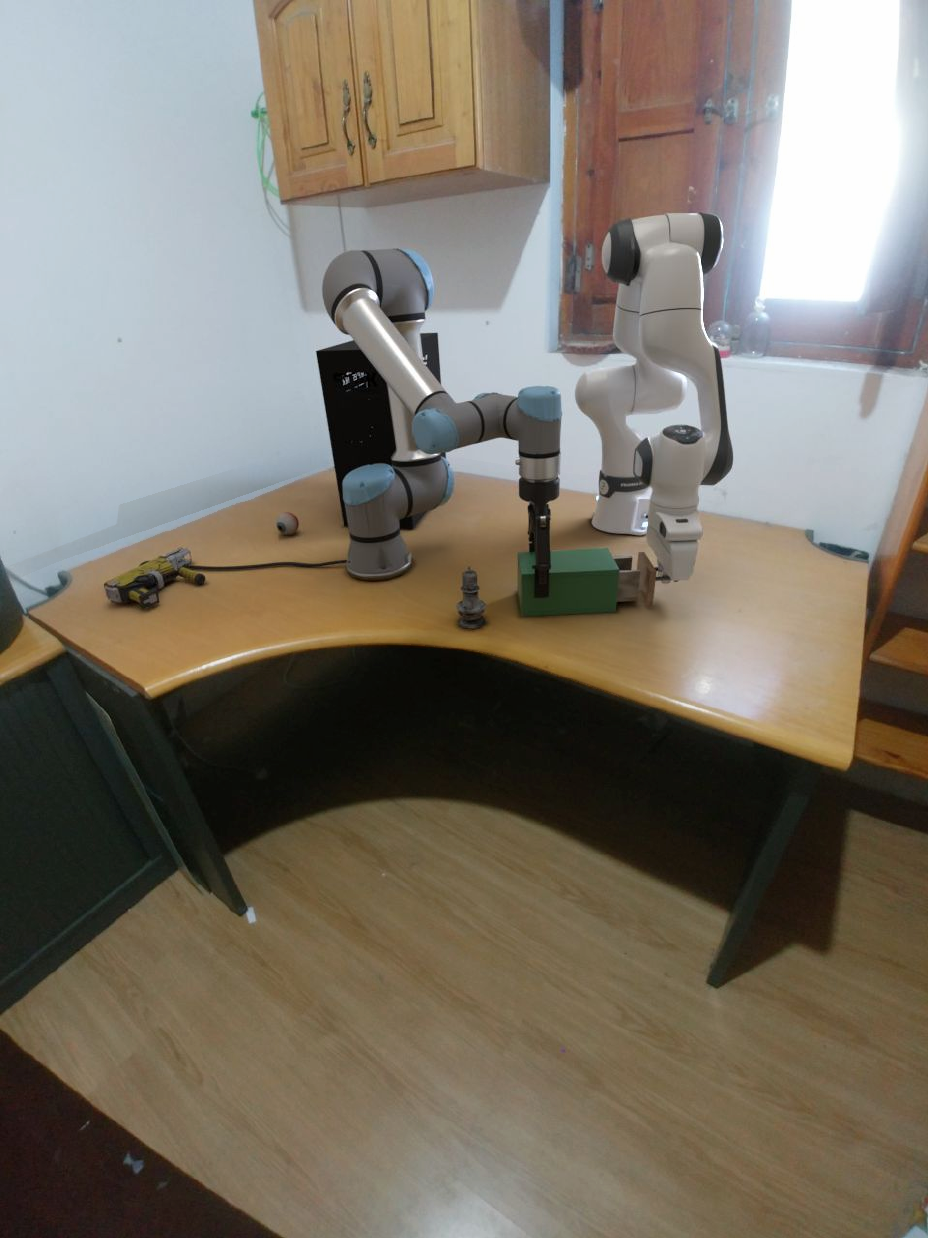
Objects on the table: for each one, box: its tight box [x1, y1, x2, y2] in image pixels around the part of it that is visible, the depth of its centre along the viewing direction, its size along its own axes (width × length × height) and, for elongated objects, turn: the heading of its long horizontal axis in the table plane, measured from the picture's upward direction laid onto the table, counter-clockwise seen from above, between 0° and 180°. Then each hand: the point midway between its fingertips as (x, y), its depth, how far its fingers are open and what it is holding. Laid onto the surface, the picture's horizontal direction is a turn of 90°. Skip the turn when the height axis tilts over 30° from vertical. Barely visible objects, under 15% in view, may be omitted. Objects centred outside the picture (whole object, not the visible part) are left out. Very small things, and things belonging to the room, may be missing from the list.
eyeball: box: [275, 511, 300, 536], centre depth 163 cm, size 6×6×6 cm
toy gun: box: [103, 546, 206, 610], centre depth 139 cm, size 5×24×15 cm
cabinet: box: [516, 547, 619, 617], centre depth 122 cm, size 19×10×9 cm, turn 90°
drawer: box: [613, 551, 680, 605], centre depth 122 cm, size 23×9×7 cm, turn 90°
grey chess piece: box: [455, 565, 487, 629], centre depth 116 cm, size 6×6×12 cm
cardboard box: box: [315, 332, 447, 530], centre depth 170 cm, size 38×20×45 cm, turn 167°
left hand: (538, 583), depth 122 cm, fingers closed on cabinet, 10 cm apart
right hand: (663, 580), depth 122 cm, fingers closed, pressing on drawer
